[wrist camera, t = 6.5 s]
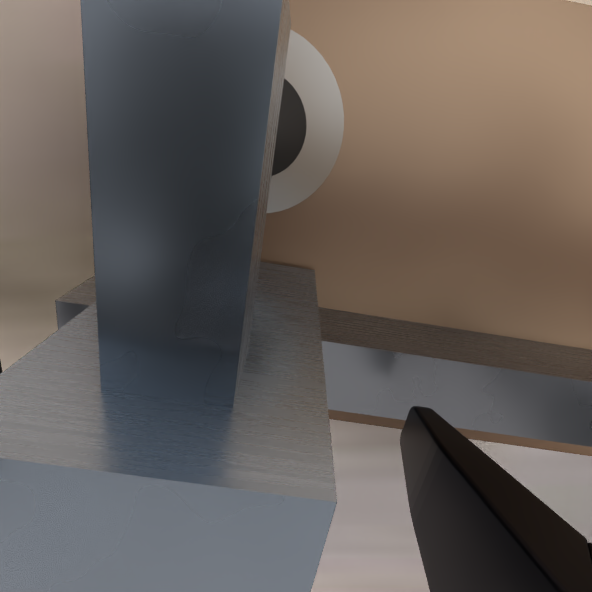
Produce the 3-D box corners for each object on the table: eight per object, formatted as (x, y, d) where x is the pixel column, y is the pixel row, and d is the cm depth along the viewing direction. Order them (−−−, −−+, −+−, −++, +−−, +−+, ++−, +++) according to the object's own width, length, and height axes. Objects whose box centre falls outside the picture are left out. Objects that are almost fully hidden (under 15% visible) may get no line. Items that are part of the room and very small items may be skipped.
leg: (289, 399, 12) (273, 716, 5) (163, 381, 11) (-15, 687, 5) (348, 93, 8) (508, -80, 2) (173, 60, 8) (-324, -256, 2)
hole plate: (774, 464, 14) (814, 490, 13) (118, 369, 13) (102, 389, 12) (1082, 124, 9) (1180, 122, 8) (106, -72, 8) (76, -104, 7)
